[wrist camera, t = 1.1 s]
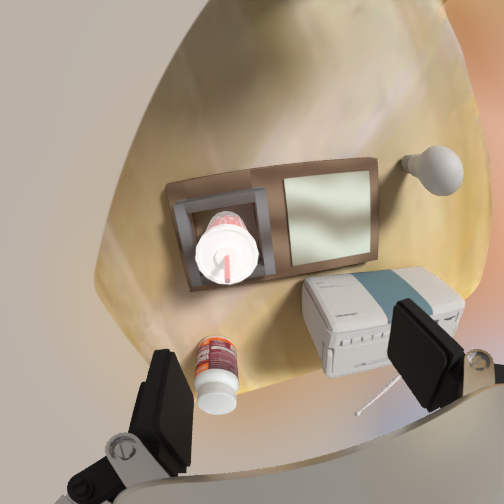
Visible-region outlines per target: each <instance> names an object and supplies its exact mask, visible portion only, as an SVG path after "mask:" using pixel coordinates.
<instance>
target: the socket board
mask: <svg viewBox="0 0 504 504" xmlns="http://www.w3.org/2000/svg"><path fill="white" fill-rule="evenodd" d="M166 191H167V196H168V201H169V206H170V210H171V215H172V219H173V224H174V228H175V233H176V237H177V241H178V245H179V249H180V254H181V258H182V262H183V265H184V269H185V273H186V277H187V281H188V285H189V288H190V292H195V291H201V290H208V289H215V288H221V287H228V286H234V285H240V284H246V283H252V282H258V281H264V280H270V279H276V278H282V277H288V276H293V275H299V274H305V273H310V272H316V271H321V270H326V269H332V268H337V267H342V266H347V265H352V264H358V263H363V262H368V261H373V260H378V241H379V185H378V163H377V158H371V157H367V158H349V159H335V160H323V161H312V162H301V163H292V164H283V165H275V166H267V167H260V168H253V169H246V170H239V171H233V172H226V173H220V174H214V175H209V176H203V177H198V178H192V179H187V180H182V181H177V182H172V183H168V184H167V185H166ZM247 203H253V204H254V211H255V218H256V225H257V233H258V240H259V247H260V252H258V253H259V255H258V262H257V266H256V267H255V269H254V270H253V272H252V274H251V275H250V276H248V277H247V278H245V279H244V280H243V281H241V282H237V283H234V284H230V285H229V284H218V283H216V282H214V281H212V280H209V279H207V278H206V277H205V276H204V274H203V273H202V272H201V271H200V270H199V268H198V265H197V262H196V260H195V256H196V246H197V244H198V237H197V232H196V228H195V223H194V218H193V212H199V211H205V210H210V209H216V208H222V207H228V206H234V205H240V204H247Z"/></svg>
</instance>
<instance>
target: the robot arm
mask: <svg viewBox="0 0 504 504" xmlns="http://www.w3.org/2000/svg"><path fill="white" fill-rule="evenodd" d="M463 351H464V349H463V348H462V347H461V346H460V345H459V344H458V343H457V342H456V341H455V340H454V339H453V338H452V337H451V336H450V335H449V334H448V333H447V332H446V331H445V330H444V329H443V328H442V327H441V326H440V325H439V324H437V323H436V322H435V321H434V320H433V319H432V318H431V317H430V316H429V315H428V314H427V313H426V312H425V311H424V310H422V309H421V308H420V307H419V306H418V305H417V304H416V303H415V302H414V301H413V300H411V299H410V298H406V299H403V300H400V301H398V302H397V303H396V305H395V306H394V308H393V315H392V322H391V329H390V336H389V342H388V348H387V356H388V358H389V360H390V361H391V363H392V364H393V366H394V367H395V368H396V370H397V371H398V373H399V374H400V375H401V377H402V378H403V380H404V381H405V383H406V384H407V385H408V387H409V388H410V390H411V391H412V393H413V394H414V395H415V397H416V398H417V400H418V401H419V403H420V404H421V406H422V407H423V408H427V410H428V412H429V413H430V412H432V411H434V410H436V409H438V408H439V407H440V408H441V409H439V410H437V411H435V412H433V413H432V414H429V415H427V416H426V417H424V418H421V419H419V420H417V421H415V422H413V423H411V424H409V425H407V426H405V427H402V428H400V429H398V430H395V431H393V432H391V433H388V434H386V435H383V436H381V437H378V438H376V439H373V440H370V441H368V442H365V443H362V444H360V445H356V446H353V447H350V448H347V449H344V450H341V451H338V452H335V453H331V454H328V455H323V456H320V457H316V458H312V459H308V460H304V461H299V462H295V463H290V464H285V465H280V466H275V467H269V468H263V469H256V470H249V471H241V472H232V473H223V474H210V475H194V476H178V473H186V468H187V466H190V464H191V445H192V425H193V409H194V397H193V394H192V392H191V389H190V387H189V385H188V383H187V380H186V378H185V376H184V374H183V371H182V369H181V367H180V364H179V362H178V360H177V357H176V355H175V353H174V352H170V350H169V349H161V350H155V351H154V353H153V357H152V361H151V364H150V368H149V371H148V375H147V379H146V382H142V383H141V385H140V388H139V391H138V395H137V399H136V403H135V407H134V410H133V414H132V418H131V422H130V427H129V431H128V433H119V434H117V435H115V436H113V437H112V438H111V439H110V440H109V441H108V442H107V445H106V447H105V453H106V455H107V456H105V457H103V458H102V459H100V460H99V461H97V462H96V463H94V464H93V465H91V466H89V467H88V468H86V469H85V470H83V471H81V472H80V473H78V474H76V475H74V476H73V477H72V478H71V479H70V481H69V482H68V486H67V492H68V494H67V495H66V496H64V495H62V496H61V497H60V498H59V499H58V500H57V501H56V503H55V504H504V365H500V364H494V362H493V358H492V357H491V355H490V354H489V353H488V352H486V351H484V350H481V349H473V350H470V351H469V352H467V354H465V353H464V352H463Z"/></svg>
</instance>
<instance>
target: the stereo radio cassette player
mask: <svg viewBox="0 0 504 504" xmlns="http://www.w3.org/2000/svg"><path fill="white" fill-rule="evenodd" d="M406 298H410V299H411V300H413V301H414V302H415V303H416V304H417V305H418V306H419V307H420V308H421V309H422V310H424V311H425V312H426V313H427V314H428V315H429V316H430V317H431V318H432V319H433V320H434V321H435V322H436V323H437V324H439V325H440V326H441V327H442V328H443V329H444V330H445V331H446V332H447V333H448V334H449V335H450V336H451V337H452V338H453V336H454V334H455V331H456V329H457V327H458V324H459V319H460V318H461V315H462V313H463V310H464V307H465V301H464V300H463V299H462V297H461V296H460V295H459V294H458V293H456V292H455V291H454V290H453V289H452V288H451V287H450V286H448V285H447V284H446V283H445V282H443V281H442V280H441V279H440V278H438V277H437V276H436V275H434V274H433V273H431V272H429V271H428V270H426V269H425V268H423V267H421V266H418V267H409V268H400V269H391V270H380V271H370V272H359V273H350V274H338V275H326V276H314V277H307V278H305V280H304V281H303V286H302V313H303V319H304V321H305V324H306V326H307V328H308V331H309V333H310V335H311V338H312V340H313V343H314V345H315V347H316V350H317V352H318V355H319V357H320V359H321V362H322V363H323V364H322V367H323V371H324V373H325V374H326V376H327V377H328V378H335V377H340V376H345V375H350V374H355V373H359V372H364V371H368V370H373V369H377V368H381V367H385V366H389V365H392V363H391V361H390V360H389V358H388V356H387V348H388V342H389V336H390V329H391V322H392V315H393V308H394V306H395V305H396V303H397V302H398V301H400V300H403V299H406ZM400 378H401V375H400V374H399V375H398V376H397V377H396V378H395V379H393V381H392V382H391V383H390V384H388V385H387V386H386V387H385V388H384V389H383V390H382V391H381V392H380V393H379V394H378V395H377V396H376V397H375V398H373V400H371V401H370V402H369V403H368V404H367V405H366V406H365V407H364V408H363V409H365V408H366V407H368V406H369V405H370V404H371V403H372V402H373V401H375V400H376V399H377V398H378V397H379V396H381V395H382V394H383V393H385V392H386V391H387V390H388V389H389V388H390V387H391V386H392V385H393V384H394V383H395V382H397V381H398V380H399V379H400ZM363 409H361V410H360V411H357V412H355V415H356V416H358V415H360V413H361V411H362V410H363Z"/></svg>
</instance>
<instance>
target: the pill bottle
mask: <svg viewBox="0 0 504 504" xmlns="http://www.w3.org/2000/svg"><path fill="white" fill-rule="evenodd" d="M194 386H195V389H196V391H197V405H198V407H199V408H200V409H201V410H202V411H204V412H207V413H210V414H216V415H219V414H226V413H229V412H231V411H232V410H233V409H235V407H236V404H237V401H236V392H237V391H238V388H239V380H238V368H237V354H236V347H235V345H234V343H233V342H232V341H231V340H229V339H228V338H225V337H223V336H209V337H206V338H205V339H203V340H202V341H201V342H200V343H199V345H198V348H197V358H196V370H195V380H194Z"/></svg>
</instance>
